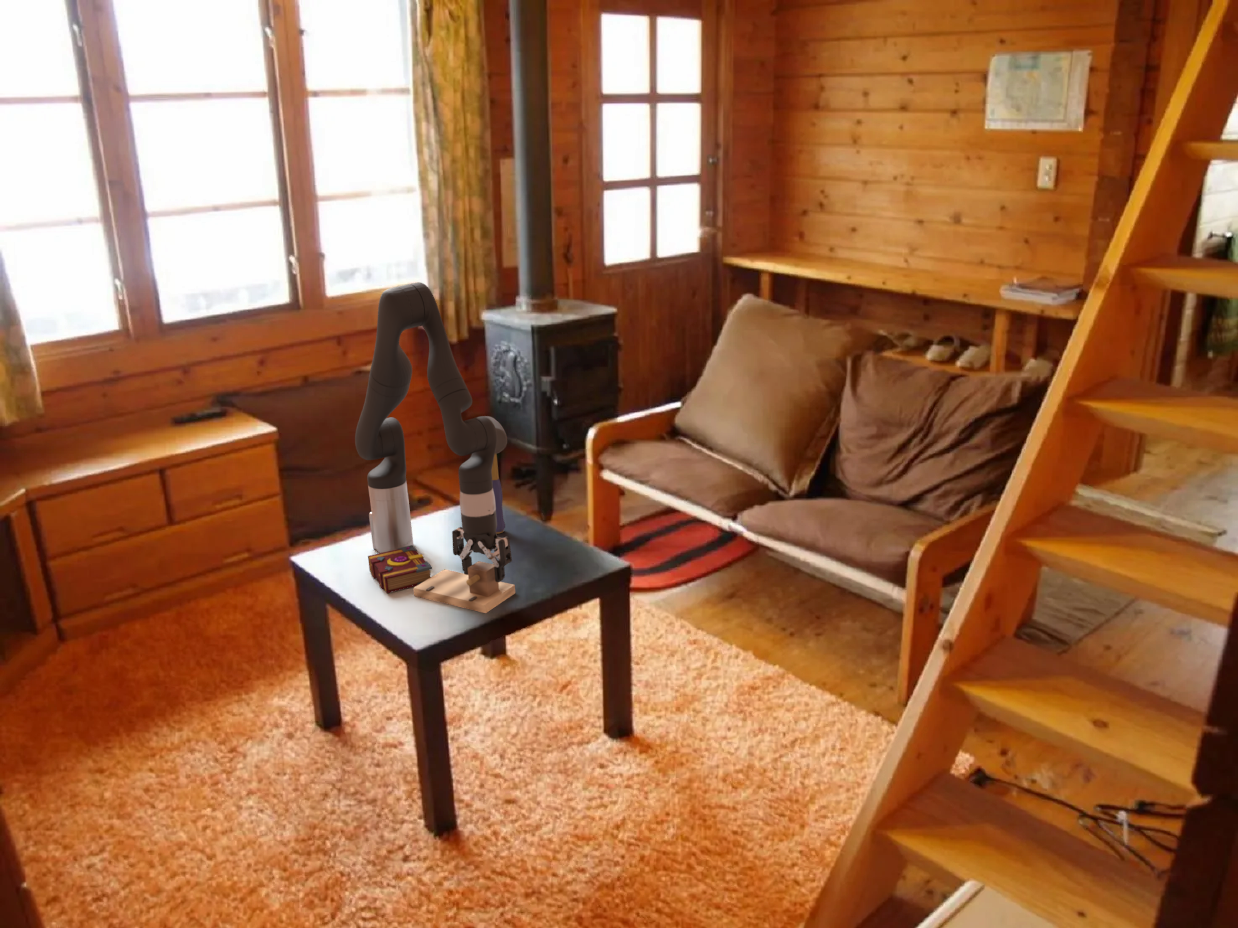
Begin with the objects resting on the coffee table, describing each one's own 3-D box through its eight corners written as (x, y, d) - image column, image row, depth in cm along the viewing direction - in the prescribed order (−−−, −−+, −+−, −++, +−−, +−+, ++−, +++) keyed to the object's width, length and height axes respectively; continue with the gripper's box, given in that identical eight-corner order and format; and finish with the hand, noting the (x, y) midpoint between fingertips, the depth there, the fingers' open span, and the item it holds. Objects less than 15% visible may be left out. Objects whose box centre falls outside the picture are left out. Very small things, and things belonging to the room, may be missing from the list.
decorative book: (386, 595, 236) (383, 575, 235) (367, 570, 250) (364, 551, 248) (434, 584, 241) (432, 564, 240) (413, 560, 255) (411, 541, 253)
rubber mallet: (517, 538, 264) (508, 425, 254) (487, 543, 262) (477, 428, 252) (507, 521, 275) (498, 412, 266) (479, 526, 273) (469, 415, 264)
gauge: (461, 598, 228) (458, 573, 226) (488, 580, 236) (486, 556, 234) (479, 602, 226) (477, 577, 224) (506, 584, 234) (504, 559, 232)
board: (414, 595, 235) (413, 586, 234) (445, 577, 244) (444, 568, 243) (485, 613, 225) (484, 603, 224) (515, 592, 234) (514, 583, 233)
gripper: (441, 509, 225) (447, 577, 230) (494, 520, 218) (500, 590, 224) (462, 497, 231) (468, 564, 237) (515, 508, 224) (520, 576, 230)
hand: (483, 577), depth 230 cm, fingers open, 8 cm apart
